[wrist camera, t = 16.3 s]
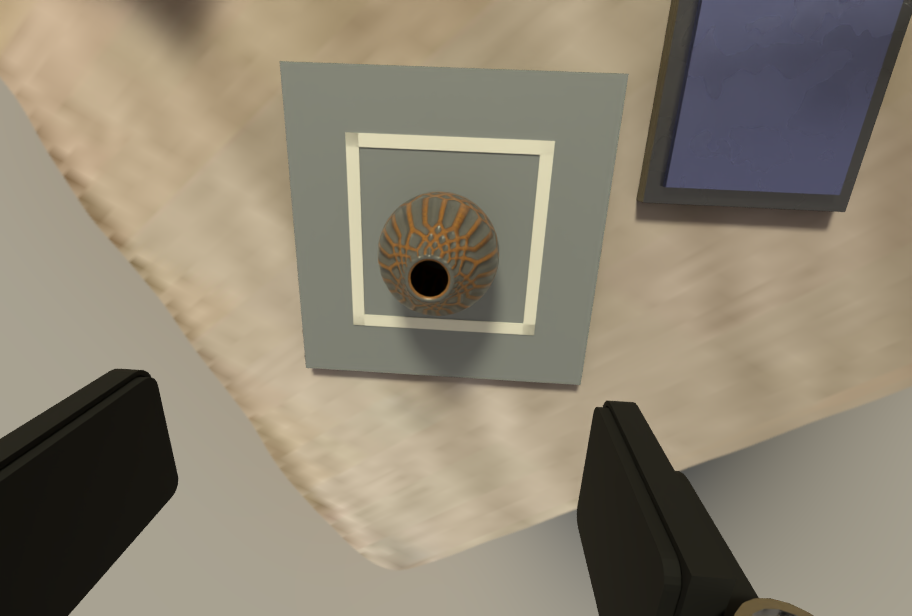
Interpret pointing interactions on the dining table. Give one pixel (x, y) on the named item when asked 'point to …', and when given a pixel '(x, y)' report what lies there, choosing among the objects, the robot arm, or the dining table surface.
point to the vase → (438, 253)
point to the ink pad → (768, 101)
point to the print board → (461, 172)
